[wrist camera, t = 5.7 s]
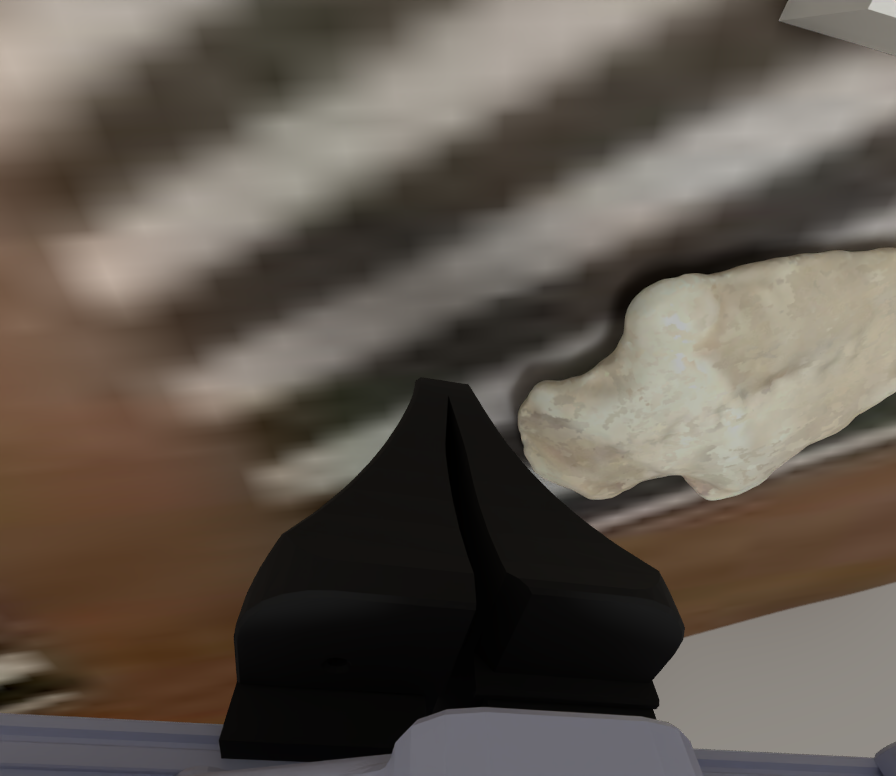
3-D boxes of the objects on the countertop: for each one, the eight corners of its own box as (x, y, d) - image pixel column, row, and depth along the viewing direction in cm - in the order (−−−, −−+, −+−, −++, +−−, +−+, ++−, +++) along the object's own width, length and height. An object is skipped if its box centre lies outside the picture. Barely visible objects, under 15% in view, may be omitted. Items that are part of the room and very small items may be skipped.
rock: (467, 350, 22) (951, 112, 18) (568, 519, 29) (939, 377, 24) (474, 396, 19) (1063, 121, 15) (586, 573, 26) (1014, 423, 21)
